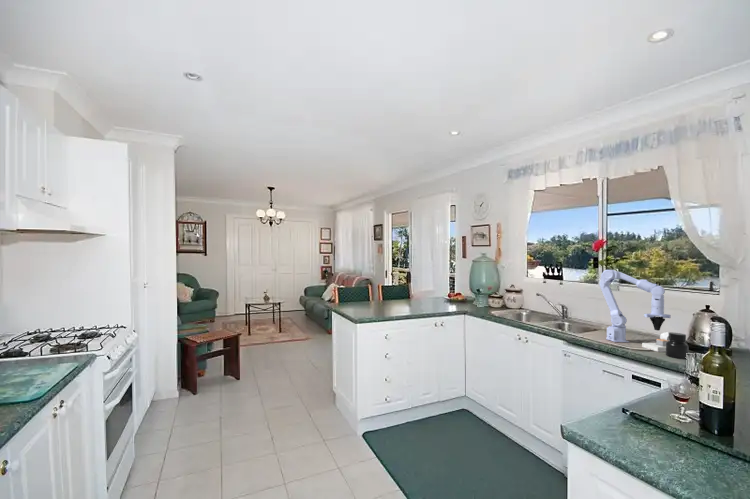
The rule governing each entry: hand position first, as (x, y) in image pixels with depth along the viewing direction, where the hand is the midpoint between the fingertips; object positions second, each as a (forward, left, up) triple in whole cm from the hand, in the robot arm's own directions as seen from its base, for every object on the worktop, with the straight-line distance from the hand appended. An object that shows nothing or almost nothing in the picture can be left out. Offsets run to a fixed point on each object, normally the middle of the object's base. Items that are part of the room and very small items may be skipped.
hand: (657, 330), depth 201 cm
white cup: (+17, +11, -6) cm, 21 cm away
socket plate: (-1, -5, -10) cm, 11 cm away
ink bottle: (-8, -20, -10) cm, 24 cm away
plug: (-1, -5, -9) cm, 11 cm away
